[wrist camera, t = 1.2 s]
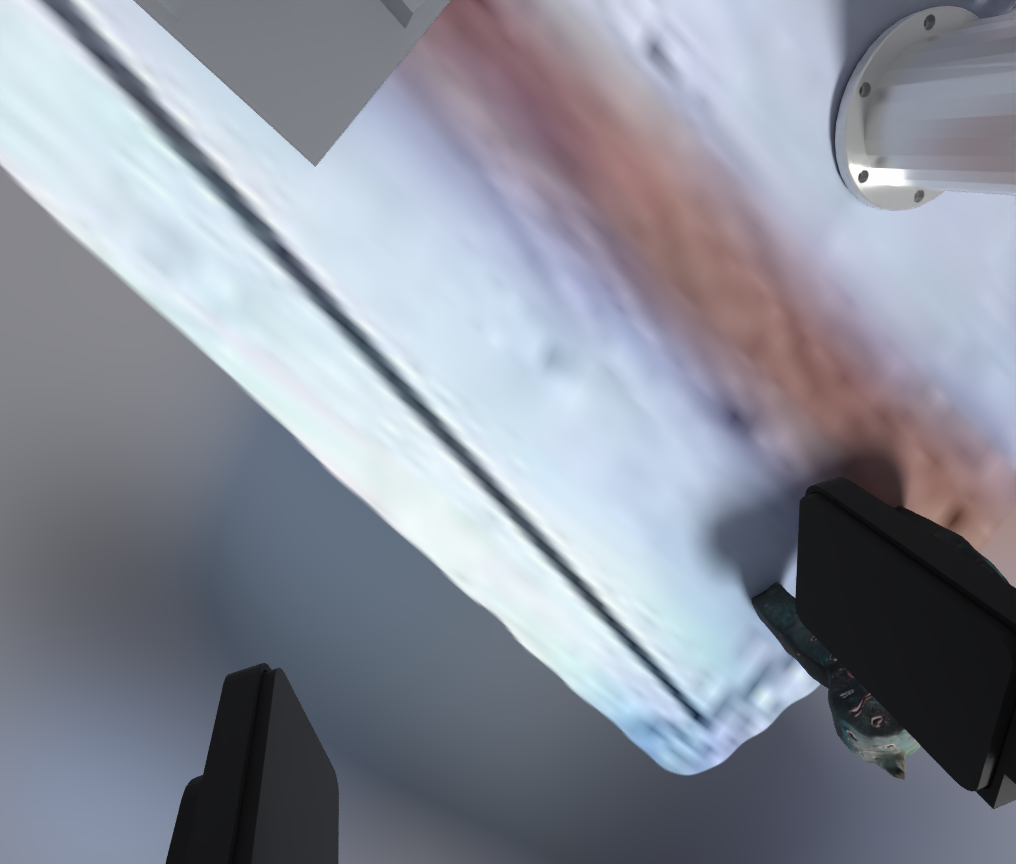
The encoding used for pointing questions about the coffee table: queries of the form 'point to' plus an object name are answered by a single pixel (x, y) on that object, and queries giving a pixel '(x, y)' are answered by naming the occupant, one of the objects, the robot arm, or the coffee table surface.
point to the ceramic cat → (849, 701)
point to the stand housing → (299, 55)
